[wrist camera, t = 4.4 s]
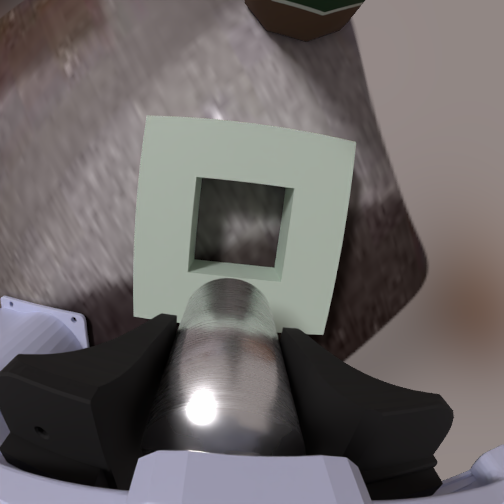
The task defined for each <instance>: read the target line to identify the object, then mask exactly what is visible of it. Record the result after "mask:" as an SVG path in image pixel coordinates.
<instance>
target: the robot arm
mask: <svg viewBox="0 0 504 504" xmlns="http://www.w3.org/2000/svg"><path fill="white" fill-rule="evenodd" d="M12 303H13V304H12ZM1 305H2V308H0V504H504V445H500V446H498V447H496V448H494V449H492V450H489V451H487V452H485V453H484V454H482V455H481V456H480V457H479V458H478V459H477V460H476V461H475V463H474V464H473V466H472V467H471V469H470V470H468V471H466V472H463V473H461V474H459V475H456V476H454V477H451V478H449V479H446V480H443V481H441V479H440V478H439V476H438V475H437V473H436V471H435V470H434V468H433V467H435V466H436V464H437V460H436V459H435V457H434V455H433V454H434V453H435V451H436V450H437V449H438V447H439V446H440V444H441V443H442V441H443V440H444V438H445V437H446V435H447V433H448V432H449V430H450V428H451V425H452V422H453V418H454V417H453V410H452V409H451V408H450V406H449V405H448V404H447V403H446V401H445V400H444V399H443V398H442V397H441V396H440V395H439V394H433V393H426V392H421V391H415V390H410V389H407V388H403V387H399V386H395V385H392V384H389V383H386V382H384V381H381V380H379V379H376V378H373V377H371V376H369V375H367V374H364V373H362V372H361V371H359V370H357V369H355V368H353V367H351V366H349V365H348V364H346V363H344V362H343V361H341V360H340V359H338V358H337V357H335V356H334V355H332V354H331V353H330V352H328V351H327V350H326V349H324V348H323V347H322V346H320V345H319V344H318V343H317V342H315V341H314V340H313V339H312V338H310V337H309V336H308V335H307V334H305V333H304V332H303V331H301V330H300V329H298V328H285V327H283V329H282V334H281V339H280V347H281V351H282V355H283V359H284V363H285V368H286V372H287V376H288V380H289V384H290V388H291V392H292V396H293V400H294V404H295V408H296V412H297V416H298V420H299V424H300V428H301V432H302V436H303V440H304V445H305V451H306V454H305V456H251V455H233V454H220V453H210V452H201V451H193V450H158V451H156V452H153V453H151V454H148V455H146V456H143V453H142V449H141V443H142V438H143V434H144V431H145V428H146V425H147V421H148V418H149V415H150V412H151V409H152V405H153V402H154V399H155V396H156V393H157V390H158V387H159V384H160V381H161V378H162V375H163V372H164V369H165V366H166V363H167V360H168V357H169V354H170V351H171V348H172V345H173V342H174V339H175V337H176V327H177V315H170V314H164V313H161V314H159V315H157V316H156V317H154V318H152V319H151V320H149V321H147V322H146V323H144V324H142V325H140V326H139V327H137V328H135V329H133V330H131V331H129V332H127V333H125V334H123V335H121V336H119V337H117V338H115V339H113V340H110V341H108V342H105V343H102V344H99V345H96V346H93V347H89V340H88V332H87V323H86V318H85V316H84V315H82V314H80V313H75V312H70V311H66V310H61V309H57V308H52V307H48V306H44V305H40V304H36V303H31V302H28V301H24V300H20V299H16V298H12V297H9V296H3V297H1ZM73 317H75V318H76V320H77V321H75V320H74V318H73Z"/></svg>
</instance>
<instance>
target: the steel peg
mask: <svg viewBox="0 0 504 504" xmlns="http://www.w3.org/2000/svg"><path fill="white" fill-rule="evenodd" d="M141 449H142V453H143V456H146V455H148V454H151V453H153V452H156V451H158V450H193V451H201V452H210V453H220V454H233V455H251V456H305V454H306V451H305V445H304V440H303V436H302V432H301V428H300V424H299V420H298V416H297V412H296V408H295V404H294V400H293V396H292V392H291V388H290V384H289V380H288V376H287V372H286V368H285V363H284V359H283V355H282V351H281V347H280V343H279V339H278V335H277V331H276V327H275V323H274V319H273V315H272V311H271V308H270V305H269V302H268V300H267V299H266V297H265V296H264V294H263V293H262V292H261V291H260V290H259V289H257V288H256V287H255V286H253V285H252V284H250V283H248V282H246V281H243V280H239V279H234V278H221V279H216V280H213V281H210V282H208V283H205V284H204V285H202V286H201V287H199V288H198V289H197V290H196V291H195V292H194V293H193V294H192V296H191V297H190V299H189V301H188V303H187V306H186V308H185V311H184V314H183V317H182V320H181V322H180V325H179V328H178V331H177V334H176V337H175V339H174V342H173V345H172V348H171V351H170V354H169V357H168V360H167V363H166V366H165V369H164V372H163V375H162V378H161V381H160V384H159V387H158V390H157V393H156V396H155V399H154V402H153V405H152V409H151V412H150V415H149V418H148V421H147V425H146V428H145V431H144V434H143V438H142V443H141Z"/></svg>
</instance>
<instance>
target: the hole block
mask: <svg viewBox="0 0 504 504" xmlns="http://www.w3.org/2000/svg"><path fill="white" fill-rule="evenodd" d="M355 149H356V142H354V141H350V140H345V139H341V138H336V137H331V136H326V135H321V134H316V133H311V132H306V131H300V130H294V129H288V128H282V127H275V126H268V125H261V124H254V123H246V122H237V121H227V120H217V119H205V118H191V117H173V116H147V118H146V124H145V131H144V138H143V145H142V153H141V161H140V170H139V180H138V191H137V203H136V218H135V236H134V268H133V303H134V316H135V317H141V318H148V319H152V318H154V317H156V316H157V315H159V314H161V313H164V314H170V315H177V323H180V322H181V320H182V317H183V314H184V311H185V308H186V306H187V303H188V301H189V299H190V297H191V296H192V294H193V293H194V292H195V291H196V290H197V289H198V288H199V287H201V286H202V285H204V284H205V283H208V282H210V281H213V280H216V279H221V278H234V279H239V280H243V281H246V282H248V283H250V284H252V285H253V286H255V287H256V288H257V289H259V290H260V291H261V292H262V293H263V294H264V296H265V297H266V299H267V300H268V302H269V305H270V308H271V311H272V315H273V319H274V323H275V327H276V331H277V332H279V333H282V329H283V327H285V328H298V329H300V330H301V331H303V332H304V333H305V334H316V335H323V334H324V330H325V325H326V321H327V317H328V312H329V308H330V303H331V299H332V294H333V289H334V284H335V280H336V275H337V269H338V264H339V259H340V253H341V248H342V242H343V236H344V230H345V224H346V218H347V211H348V205H349V198H350V191H351V183H352V175H353V167H354V159H355ZM202 178H211V179H221V180H230V181H239V182H248V183H256V184H264V185H271V186H279V187H286V189H285V196H284V204H283V211H282V218H281V226H280V233H279V240H278V247H277V254H276V261H275V268H272V267H262V266H252V265H243V264H233V263H224V262H215V261H206V260H196V259H194V257H195V245H196V233H197V223H198V212H199V202H200V193H201V184H202Z"/></svg>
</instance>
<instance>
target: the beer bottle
mask: <svg viewBox="0 0 504 504" xmlns="http://www.w3.org/2000/svg"><path fill="white" fill-rule="evenodd" d="M364 1H365V0H245V4H246V5H247V6H248V7H249V9H250V10H251V11H252V12H253V14H254V15H255V16H256V17H257V19H258V20H259V21H260V23H261V24H262V25H263V26H264V28H265V29H266V30H267V31H270V32H274V33H278V34H282V35H285V36H289V37H292V38H296V39H299V40H302V41H310V40H312V39H315V38H318V37H321V36H324V35H327V34H329V33H332V32H336V31H339V30H340V29H341V28H342V27H343V26H344V25H345V24H346V23H347V22H348V21H349V20H350V19H351V17H352V16H353V15H354V14H355V12H356V11H357V10H358V9H359V7H360V6H361V5H362V4H363V2H364Z"/></svg>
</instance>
